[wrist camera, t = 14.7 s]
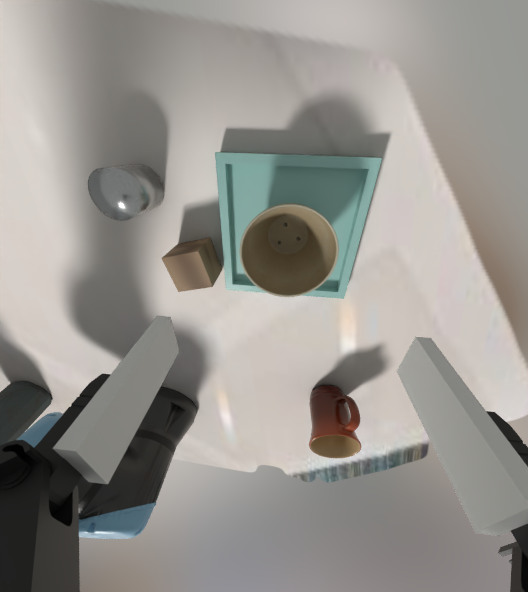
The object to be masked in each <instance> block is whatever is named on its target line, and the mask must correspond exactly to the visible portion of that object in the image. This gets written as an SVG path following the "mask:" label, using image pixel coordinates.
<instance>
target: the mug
mask: <svg viewBox="0 0 528 592" xmlns="http://www.w3.org/2000/svg"><path fill="white" fill-rule="evenodd" d="M348 407H349V408H348ZM349 410H350V413H349ZM310 412H311V420H312V433H311V438H310V442H309V447H310V449H311V450H312V451H313V452H314V453H316V454H318V455H320V456H323V457H328V458H345V457H350V456H353V455H355V454H357V453H358V452H359V451H360V450H361V443H360V441H359V440H358V438H357V436H356V434H355V432H354V431H355V430H356V429H357V427H358V426H359V423H360V414H359V410H358V407H357V405H356V403H355V401H354V400H353V399H352V398H351V397H349V396H346V395H344V393H343V391H342V390H341V389H339V388H337V387H335V386H331V385H324V386H320V387H317V388H316V389H314V390H313V391H312V392H311V395H310ZM350 414H351V418H350Z"/></svg>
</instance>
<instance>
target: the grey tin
mask: <svg viewBox="0 0 528 592" xmlns="http://www.w3.org/2000/svg"><path fill="white" fill-rule="evenodd" d="M88 189H89V193H90V196H91V198H92V200H93V202H94V203H95V205H96V206H97V207H98V208H99V209H100V211H102V212H103V213H104V214H105V215H107V216H108V217H110V218H112V219H115V220H120V221H124V220H128V219H131V218H133V217H135V216H137V215H140V214H142V213H144V212H146V211H149V210H151V209H153V208H156V207H157V206H159V205H160V204H161V203H162V201H163V198H164V187H163V184H162V182H161V180H160V178H159V176H158V175H157V174H156V173H155V172H154V171H153V170H152V169H150V168H149V167H147V166H145V165H141V164H135V165H126V166H116V167H107V168H99V169H96V170H95V171H93V172H92V173H91V175H90V177H89V180H88Z"/></svg>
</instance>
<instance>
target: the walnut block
mask: <svg viewBox="0 0 528 592" xmlns="http://www.w3.org/2000/svg"><path fill="white" fill-rule="evenodd" d="M162 260H163V262H164V264H165V266H166V268H167V270H168V272H169V274H170V276H171V278H172V280H173V282H174V284H175V286H176V288H177V290H178V292H181V291H187V290H194V289H200V288H207V287H213V285H214V283H215V281H216V280H217V278H218V276H219V274H220V272H221V271H222V268H221V265H220V262H219V260H218V257H217V254H216V251H215V249H214V246H213V243H212V240H211V237H210V238H205V239H200V240H195V241H190V242H186V243H181V244H178V245H176V246H175V247H174V248H173V249H172V250H171V251H169V252H168V253H167V254H166V255H165V256H164V257H162Z"/></svg>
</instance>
